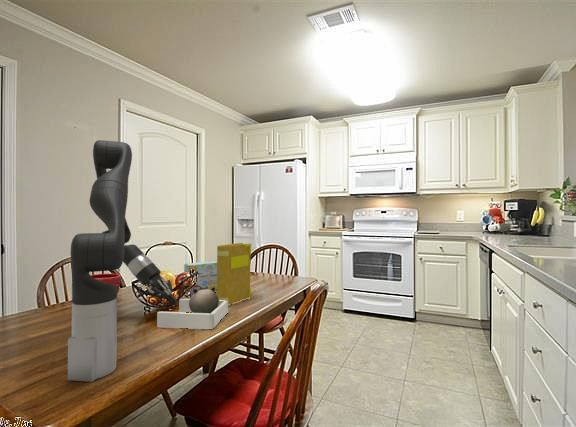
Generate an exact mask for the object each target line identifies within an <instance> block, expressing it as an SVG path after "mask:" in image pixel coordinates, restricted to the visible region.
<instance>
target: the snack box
mask: <svg viewBox="0 0 576 427" xmlns="http://www.w3.org/2000/svg"><path fill="white" fill-rule="evenodd" d="M183 266H184V267H183V270H184V271H183V274H184V273H185V272H190V270H191V269H193V270H194V271H195V272H196V271H198V273H199V274H198V277H197V282H196V284H195V285H194V286H193V288H192V289H191V291H190V294H189V296H192V294H193V293H194V292H193V290H194V289H197V291H198V290H201V289H212V288H214V287H215V290H214V291H217V260H212V261H199V262H190V263H184V265H183Z"/></svg>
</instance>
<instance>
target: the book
mask: <svg viewBox="0 0 576 427" xmlns="http://www.w3.org/2000/svg"><path fill="white" fill-rule="evenodd" d="M216 247H217V248H216V255H217V256H216V261H217V292H216V294H217V295H218V298H219V300H228V305H229V304H232V303H234V302H237V301H240V300H242V299H246V298H249V297H251V298H252V288H251V255H252V243H243V242H237V243H236V242H235V243H230V244H229V243H228V244H220V245H217V246H216Z"/></svg>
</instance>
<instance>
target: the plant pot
mask: <svg viewBox="0 0 576 427" xmlns="http://www.w3.org/2000/svg"><path fill="white" fill-rule="evenodd" d="M90 275H91V276H92V277H93V278H95V279H96V280H99V281H101V282H105V283H109V284H113V285H115V286H116V287H117V295H118V293H119V290H120V286H121V282H122V281H121V280H122V275H121V274H120V273H119V274H118V273H96V274H90ZM117 300H119V299H118V297H117Z"/></svg>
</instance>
